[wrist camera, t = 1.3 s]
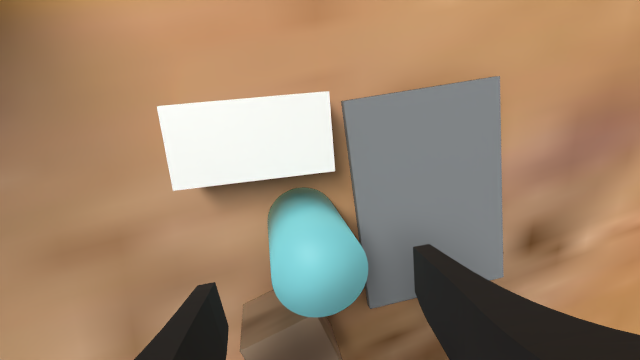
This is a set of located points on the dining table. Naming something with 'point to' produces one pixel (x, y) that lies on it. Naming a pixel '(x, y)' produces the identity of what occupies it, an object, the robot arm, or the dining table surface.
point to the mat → (426, 181)
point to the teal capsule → (313, 255)
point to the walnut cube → (284, 333)
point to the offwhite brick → (247, 139)
